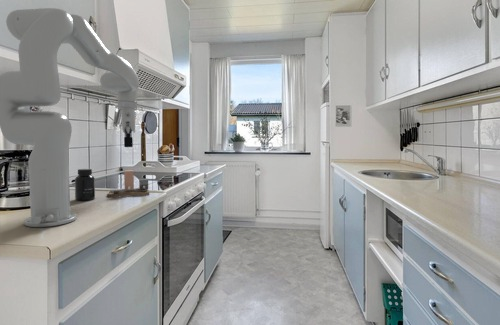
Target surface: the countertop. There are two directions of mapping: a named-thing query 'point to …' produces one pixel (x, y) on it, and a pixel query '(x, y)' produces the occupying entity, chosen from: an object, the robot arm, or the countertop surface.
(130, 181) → the sliding leg
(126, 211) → the countertop surface
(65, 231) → the countertop surface
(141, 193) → the gauge board
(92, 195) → the supplement bottle
